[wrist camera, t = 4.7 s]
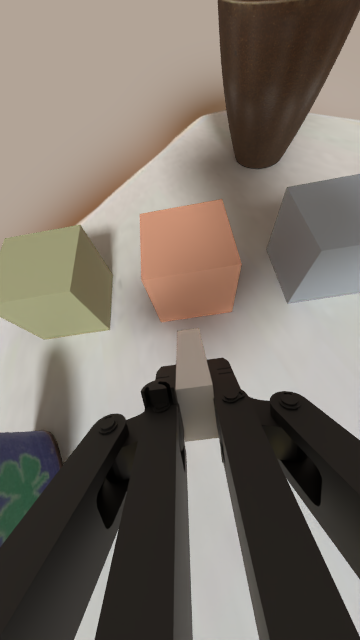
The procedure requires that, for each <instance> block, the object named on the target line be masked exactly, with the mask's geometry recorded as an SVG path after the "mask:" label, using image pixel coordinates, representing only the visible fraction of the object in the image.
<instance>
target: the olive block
mask: <svg viewBox="0 0 360 640" xmlns="http://www.w3.org/2000/svg"><path fill="white" fill-rule="evenodd" d="M112 277H113V275H112V273H111V272H110V270H109V269H108V267H107V265H106V264H105V262H104V261H103V259H102V258H101V256H100V255H99V253H98V251H97V250H96V248H95V247H94V245H93V244H92V242H91V241H90V239H89V237H88V236H87V234H86V233H85V231H84V230H83V228H82V227H81V225H76V226H71V227H66V228H60V229H55V230H49V231H43V232H38V233H33V234H28V235H22V236H16V237H11V238H5V239H4V242H3V245H2V247H1V250H0V317H1V318H3V319H5V320H7V321H9V322H11V323H13V324H15V325H17V326H19V327H21V328H23V329H25V330H27V331H28V332H30V333H32V334H34V335H36V336H38V337H40V338H42V339H44V340H45V339H52V338H58V337H65V336H72V335H79V334H85V333H92V332H99V331H105V330H110V317H111V297H112Z"/></svg>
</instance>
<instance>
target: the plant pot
mask: <svg viewBox="0 0 360 640" xmlns="http://www.w3.org/2000/svg"><path fill="white" fill-rule="evenodd" d="M359 11H360V0H218V15H219V34H220V51H221V65H222V76H223V86H224V94H225V102H226V110H227V117H228V123H229V129H230V134H231V139H232V144H233V149H234V153H235V157H236V160H237V161H238V162H239V163H240V164H241V165H243V166H245V167H249V168H265V167H269V166H272V165H274V164H275V163H277V162H278V161H279V160H280V159H281V157H282V156H283V154H284V153H285V151H286V150H287V148H288V146H289V145H290V143H291V142H292V140H293V138H294V137H295V135H296V133H297V132H298V130H299V128H300V127H301V125H302V123H303V122H304V120H305V118H306V116H307V114H308V113H309V111H310V109H311V107H312V105H313V104H314V102H315V100H316V98H317V96H318V94H319V92H320V91H321V88H322V87H323V85H324V83H325V81H326V79H327V77H328V75H329V73H330V71H331V69H332V67H333V65H334V63H335V61H336V59H337V57H338V55H339V53H340V51H341V49H342V47H343V45H344V43H345V40H346V39H347V36H348V34H349V32H350V30H351V28H352V26H353V23H354V21H355V19H356V17H357V15H358V13H359Z"/></svg>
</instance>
